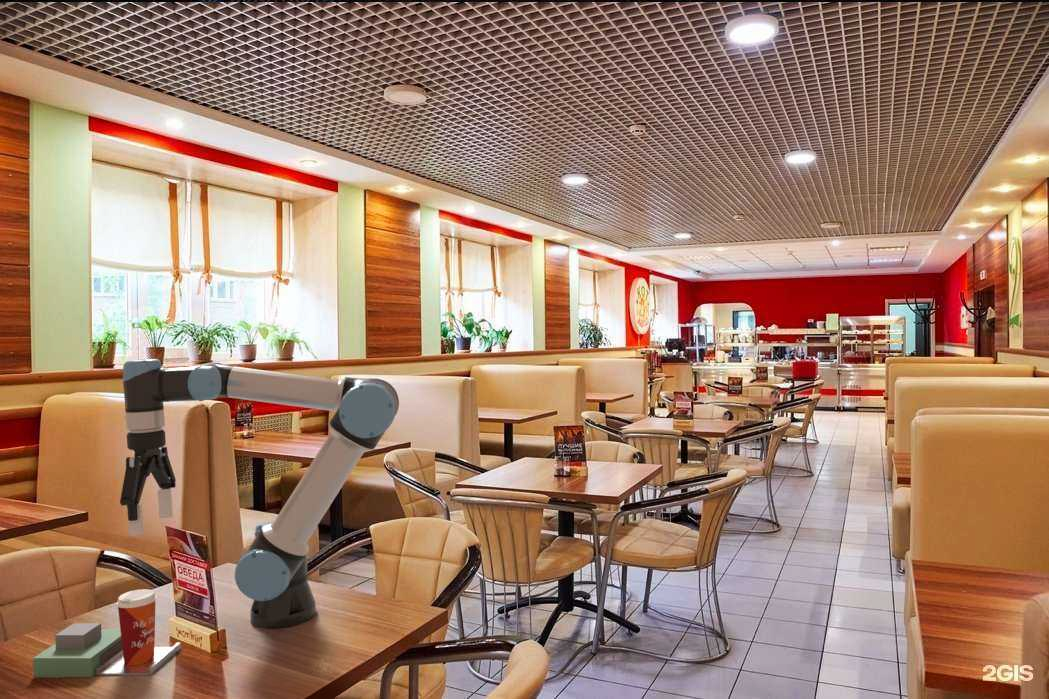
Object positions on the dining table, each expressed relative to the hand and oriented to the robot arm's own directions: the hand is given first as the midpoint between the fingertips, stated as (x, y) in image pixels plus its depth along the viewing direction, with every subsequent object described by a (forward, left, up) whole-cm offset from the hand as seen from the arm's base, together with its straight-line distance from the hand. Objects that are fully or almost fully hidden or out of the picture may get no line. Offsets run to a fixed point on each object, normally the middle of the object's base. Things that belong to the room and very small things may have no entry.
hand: (151, 525), depth 162 cm
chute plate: (0, +7, -27) cm, 28 cm away
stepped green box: (+12, +7, -27) cm, 30 cm away
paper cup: (0, +7, -27) cm, 28 cm away
